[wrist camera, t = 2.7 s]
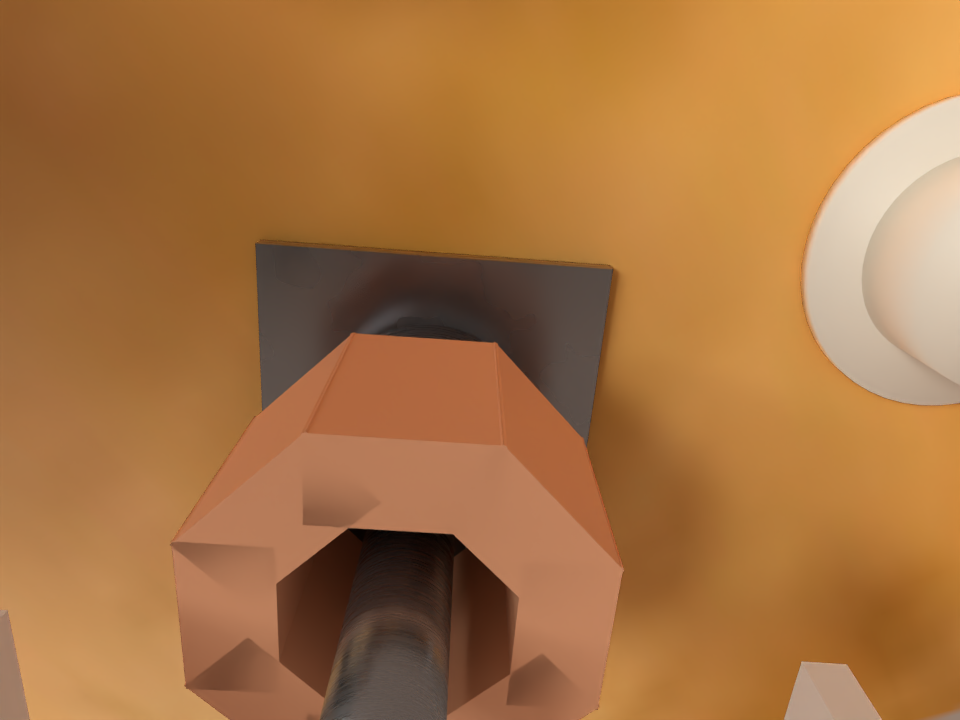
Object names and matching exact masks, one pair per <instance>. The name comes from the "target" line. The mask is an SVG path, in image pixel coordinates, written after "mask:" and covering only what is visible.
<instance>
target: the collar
mask: <svg viewBox="0 0 960 720" xmlns="http://www.w3.org/2000/svg"><path fill="white" fill-rule="evenodd" d="M348 528H358V529H375V530H392V531H409V532H426V533H443V534H453V535H454V536H455V537H457V538H458V539H459V540H460V541H461V542H462V543H463V544H464V545H465V546H466V547H467V548H466V549H464V550H463V551H462V552H460V553H459V554H457V555H456V556H455V557H454V565H453V587H452V610H451V633H450V656H449V679H448V701H447V720H579V719H581V718H583V717H584V716H586V715H588V714H589V713H591V712H592V711H594V710H598V708H599V699H600V694H601V688H602V683H603V677H604V672H605V666H606V661H607V655H608V650H609V644H610V639H611V633H612V628H613V622H614V617H615V611H616V606H617V600H618V595H619V589H620V584H621V578H622V573H623V572H624V568H623V565H622V561H621V558H620V555H619V552H618V549H617V545H616V542H615V539H614V536H613V532H612V529H611V526H610V523H609V519H608V516H607V513H606V510H605V506H604V503H603V500H602V497H601V493H600V490H599V487H598V484H597V481H596V477H595V474H594V471H593V468H592V464H591V461H590V458H589V455H588V451H587V448H586V445H585V442H584V438H583V437H581V436H580V435H579V434H578V433H577V432H576V431H575V430H574V429H573V427H572V426H571V425H570V424H569V423H568V422H567V421H566V420H565V419H564V418H563V416H562V415H561V414H560V413H559V412H558V411H557V410H556V409H555V408H554V407H553V405H552V404H551V403H550V402H549V401H548V400H547V399H546V398H545V397H544V395H543V394H542V393H541V392H540V391H539V390H538V389H537V388H536V387H535V386H534V384H533V383H532V382H531V381H530V380H529V379H528V378H527V377H526V376H525V375H524V373H523V372H522V371H521V370H520V369H519V368H518V367H517V366H516V365H515V363H514V362H513V361H512V360H511V359H510V358H509V357H508V356H507V355H506V354H505V352H504V351H503V350H502V349H501V348H500V347H499V346H498V343H495V342H494V343H488V342H474V341H459V340H445V339H430V338H416V337H401V336H387V335H372V334H358V333H355V332H354V333H351V334H350V336H349V337H348V338H347V339H346V340H344V341H343V342H342V343H341V344H340V345H339V346H337V347H336V348H335V349H334V350H333V351H332V352H331V353H329V354H328V355H327V356H326V357H325V358H324V359H322V360H321V361H320V362H319V363H318V364H317V365H315V366H314V367H313V368H312V369H311V370H310V371H308V372H307V373H306V374H305V375H304V376H303V377H302V378H300V379H299V380H298V381H297V382H296V383H295V384H293V385H292V386H291V387H290V388H289V389H288V390H286V391H285V392H284V393H283V394H282V395H281V396H279V397H278V398H277V399H276V400H275V401H274V402H273V403H271V404H270V405H269V406H268V407H267V408H266V409H264V410H263V411H262V412H261V413H260V414H259V415H257V416H254V418H253V419H252V421H251V422H250V424H249V425H248V427H247V428H246V430H245V431H244V433H243V435H242V436H241V438H240V439H239V441H238V442H237V444H236V445H235V447H234V448H233V450H232V451H231V453H230V454H229V456H228V457H227V459H226V460H225V462H224V463H223V465H222V466H221V468H220V469H219V471H218V472H217V474H216V475H215V477H214V478H213V480H212V481H211V483H210V484H209V486H208V487H207V489H206V490H205V492H204V493H203V495H202V496H201V498H200V499H199V501H198V502H197V504H196V505H195V507H194V508H193V510H192V511H191V513H190V514H189V516H188V517H187V519H186V520H185V522H184V523H183V525H182V526H181V528H180V529H179V531H178V532H177V534H176V535H175V537H174V538H173V540H172V541H171V542H172V543H171V544H170V545H171V546H172V552H173V562H174V572H175V582H176V592H177V602H178V612H179V622H180V632H181V642H182V652H183V662H184V672H185V682H186V683H185V685H184V686H185V687H186V689H189V690H191V691H192V692H193V693H195V694H196V695H197V696H199V697H200V698H201V699H203V700H204V701H205V702H207V703H208V704H209V705H211V706H212V707H213V708H215V709H216V710H217V711H219V712H220V713H222V714H223V715H224V716H226V717H227V718H228V719H230V720H319V719H320V715H321V711H322V707H323V703H324V699H325V695H326V691H327V687H328V683H329V678H330V674H331V670H332V666H333V662H334V658H335V654H336V650H337V646H338V642H339V638H340V633H341V629H342V625H343V621H344V617H345V613H346V609H347V605H348V601H349V597H350V593H351V588H352V584H353V580H354V576H355V572H356V568H357V564H358V560H359V556H360V552H361V548H362V543H363V542H362V541H361V540H359V539H358V538H357V537H356V536H355V535H354V534H353V533H352V532H351V531H349V530H348Z"/></svg>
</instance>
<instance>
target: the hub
mask: <svg viewBox="0 0 960 720" xmlns="http://www.w3.org/2000/svg"><path fill="white" fill-rule="evenodd" d="M801 294H802V304H803V308H804V312H805V316H806V320H807V323H808V325H809V328H810V330H811V333H812V335H813V337H814V339H815V341H816V342H817V344H818V346H819V347H820V349H821V351H822V352H823V353H824V354H825V356H826V357H827V358H828V359H829V360H830V361H831V363H832V364H833V365H834V366H835V367H837V368H838V369H839V370H840V371H841V372H842V373H844V374H845V375H846V376H847V377H849V378H850V379H851V380H852V381H854V382H855V383H857V384H858V385H860V386H862V387H863V388H865V389H867V390H868V391H870V392H872V393H875V394H877V395H879V396H882V397H884V398H887V399H891V400H895V401H898V402H902V403H909V404H917V405H947V404H956V403H960V95H956V96H952V97H948V98H945V99H942V100H940V101H937V102H935V103H932V104H930V105H927V106H925V107H922V108H921V109H919V110H917V111H915V112H913V113H911V114H909V115H907V116H906V117H904V118H902V119H900V120H899V121H897V122H896V123H895V124H893V125H892V126H890V127H889V128H887V129H886V130H884V131H883V132H881V133H880V134H879V135H878V136H877V137H876V138H874V139H873V140H872V141H871V142H870V143H869V144H867V145H866V146H865V147H864V148H863V149H862V150H861V151H860V152H859V153H858V154H857V155H856V156H855V157H854V158H853V160H852V161H851V162H850V163H849V164H848V165H847V166H846V167H845V169H844V170H843V171H842V173H841V174H840V175H839V177H838V178H837V179H836V181H835V182H834V183H833V185H832V186H831V188H830V190H829V191H828V193H827V195H826V196H825V198H824V200H823V201H822V203H821V205H820V207H819V209H818V212H817V214H816V216H815V218H814V220H813V223H812V225H811V228H810V231H809V235H808V238H807V241H806V244H805V249H804V255H803V260H802V267H801Z"/></svg>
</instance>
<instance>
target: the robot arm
mask: <svg viewBox="0 0 960 720" xmlns="http://www.w3.org/2000/svg"><path fill="white" fill-rule="evenodd" d="M0 720H30V718H29V713H28V709H27V704H26V699H25V694H24V689H23V684H22V679H21V674H20V669H19V664H18V659H17V654H16V649H15V644H14V640H13V635H12V630H11V625H10V620H9V615H8V610H0ZM784 720H882V719H881V717H880V716H879V714H878V713H877V711H876V709H875V708H874V706H873V705H872V703H871V702H870V700H869V698H868V697H867V695H866V694H865V692H864V691H863V689H862V687H861V686H860V684H859V683H858V681H857V680H856V678H855V676H854V675H853V673H852V672H851V670H850V668H849V667H848V665H847V664H834V663H818V662H803V661H802V662H801V665H800V669H799V672H798V675H797V678H796V682H795V685H794V688H793V692H792V695H791V698H790V701H789V705H788V708H787V711H786V714H785V718H784Z"/></svg>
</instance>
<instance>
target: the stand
mask: <svg viewBox="0 0 960 720" xmlns="http://www.w3.org/2000/svg"><path fill="white" fill-rule="evenodd" d="M256 268H257V292H258V317H259V341H260V366H261V390H262V411H263V410H264V409H266V408H267V407H268V406H269V405H270V404H271V403H273V402H274V401H275V400H276V399H277V398H278V397H279V396H281V395H282V394H283V393H284V392H285V391H286V390H288V389H289V388H290V387H291V386H292V385H293V384H295V383H296V382H297V381H298V380H299V379H300V378H302V377H303V376H304V375H305V374H306V373H307V372H308V371H310V370H311V369H312V368H313V367H314V366H315V365H317V364H318V363H319V362H320V361H321V360H322V359H324V358H325V357H326V356H327V355H328V354H329V353H331V352H332V351H333V350H334V349H335V348H336V347H337V346H339V345H340V344H341V343H342V342H343V341H344V340H346V339H347V338H348V337H349V336H350V334H351V333H354V332H355V333H358V334H372V335H387V336H401V337H416V338H430V339H445V340H459V341H474V342H488V343H494V342H495V343H498V346H499V347H500V348H501V349H502V350H503V351H504V352H505V354H506V355H507V356H508V357H509V358H510V359H511V360H512V361H513V362H514V363H515V365H516V366H517V367H518V368H519V369H520V370H521V371H522V372H523V373H524V375H525V376H526V377H527V378H528V379H529V380H530V381H531V382H532V383H533V384H534V386H535V387H536V388H537V389H538V390H539V391H540V392H541V393H542V394H543V395H544V397H545V398H546V399H547V400H548V401H549V402H550V403H551V404H552V405H553V407H554V408H555V409H556V410H557V411H558V412H559V413H560V414H561V415H562V416H563V418H564V419H565V420H566V421H567V422H568V423H569V424H570V425H571V426H572V427H573V429H574V430H575V431H576V432H577V433H578V434H579V435H580V436H581V437H583V438H584V442H585V445H586V448H587V442H588V435H589V428H590V422H591V415H592V408H593V401H594V395H595V388H596V381H597V374H598V367H599V361H600V354H601V347H602V340H603V334H604V327H605V320H606V313H607V307H608V300H609V293H610V286H611V280H612V273H613V269H612V267H611V266H610V265H600V264H586V263H573V262H559V261H545V260H532V259H518V258H504V257H490V256H477V255H463V254H449V253H436V252H422V251H408V250H395V249H381V248H367V247H354V246H340V245H326V244H313V243H299V242H285V241H272V240H260V241H258V242H257V243H256ZM348 530H349V531H351V532H352V533H353V534H354V535H355V536H356V537H357V538H358V539H359V540H361V541H362V542H363V543H362V548H361V552H360V556H359V560H358V564H357V568H356V572H355V576H354V580H353V584H352V588H351V593H350V597H349V601H348V605H347V609H346V613H345V617H344V621H343V625H342V629H341V633H340V638H339V642H338V646H337V650H336V654H335V658H334V662H333V666H332V670H331V674H330V678H329V683H328V687H327V691H326V695H325V699H324V703H323V707H322V711H321V715H320V719H319V720H447V701H448V679H449V656H450V633H451V610H452V587H453V565H454V557H455V556H456V555H457V554H459V553H460V552H462V551H463V550H464V549H466V548H467V547H466V546H465V545H464V544H463V543H462V542H461V541H460V540H459V539H458V538H457V537H455V536H454V535H453V534H443V533H426V532H409V531H392V530H375V529H358V528H348Z"/></svg>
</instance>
